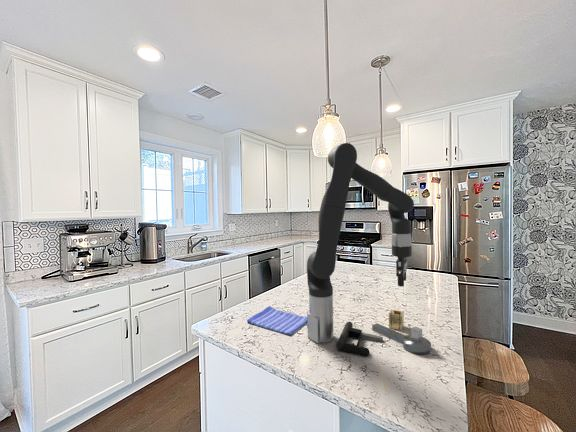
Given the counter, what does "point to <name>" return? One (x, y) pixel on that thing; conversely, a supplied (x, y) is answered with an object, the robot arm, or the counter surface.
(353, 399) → the counter surface
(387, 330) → the ratchet
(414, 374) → the counter surface
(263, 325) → the dish towel
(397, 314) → the brass cube frame
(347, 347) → the door handle
